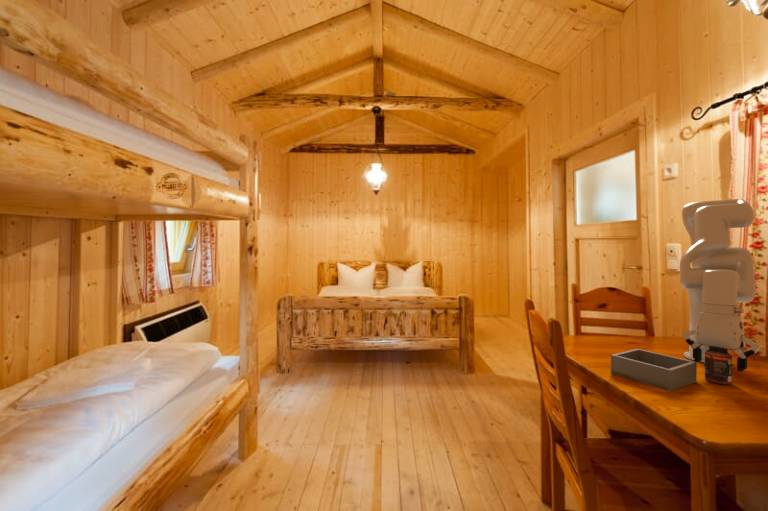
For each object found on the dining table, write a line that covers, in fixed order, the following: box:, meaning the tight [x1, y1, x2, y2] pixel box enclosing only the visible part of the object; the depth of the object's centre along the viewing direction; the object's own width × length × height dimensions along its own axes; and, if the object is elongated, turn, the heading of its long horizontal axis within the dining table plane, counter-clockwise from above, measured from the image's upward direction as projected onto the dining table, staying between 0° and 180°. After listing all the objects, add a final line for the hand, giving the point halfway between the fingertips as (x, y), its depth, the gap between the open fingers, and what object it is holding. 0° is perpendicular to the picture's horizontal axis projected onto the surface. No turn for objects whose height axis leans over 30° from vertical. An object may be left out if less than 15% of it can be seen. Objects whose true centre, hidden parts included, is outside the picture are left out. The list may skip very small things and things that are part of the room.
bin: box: [610, 348, 698, 392], centre depth 105 cm, size 16×16×6 cm
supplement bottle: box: [704, 346, 733, 386], centre depth 101 cm, size 6×6×11 cm
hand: (718, 365), depth 101 cm, fingers open, 9 cm apart
